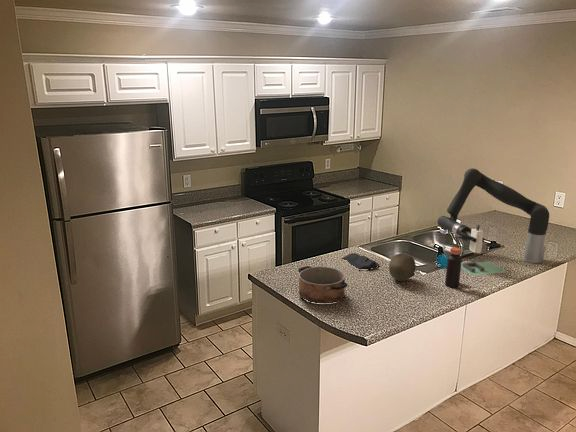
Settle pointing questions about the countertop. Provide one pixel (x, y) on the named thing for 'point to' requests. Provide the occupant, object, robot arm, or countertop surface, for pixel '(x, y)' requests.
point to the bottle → (453, 268)
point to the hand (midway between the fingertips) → (479, 240)
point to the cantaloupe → (402, 266)
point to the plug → (476, 245)
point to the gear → (442, 261)
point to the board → (485, 268)
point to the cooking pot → (321, 284)
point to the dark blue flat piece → (360, 261)
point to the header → (468, 265)
